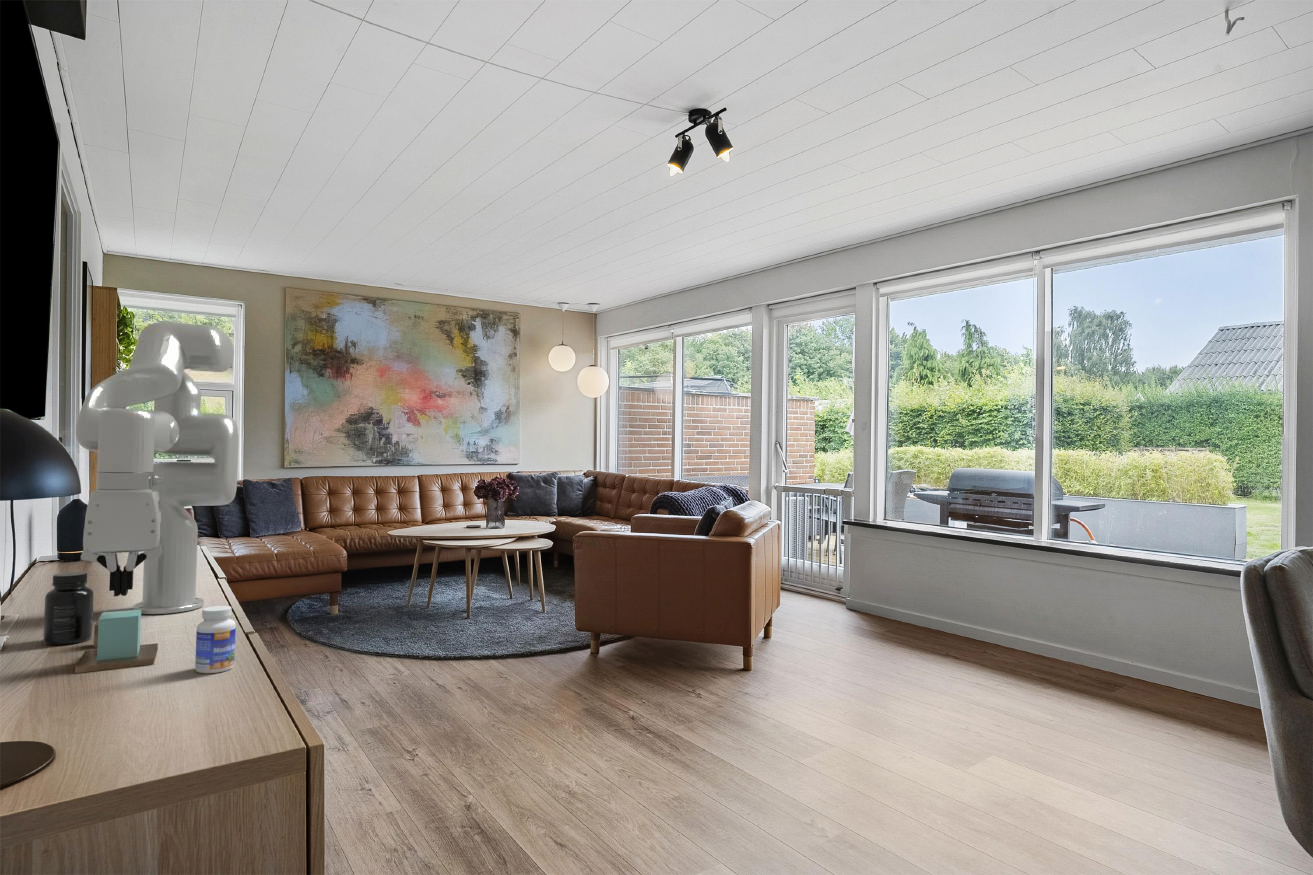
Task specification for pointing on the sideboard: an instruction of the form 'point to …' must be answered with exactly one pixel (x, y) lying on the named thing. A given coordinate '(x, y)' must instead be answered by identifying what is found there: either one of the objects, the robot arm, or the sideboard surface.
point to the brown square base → (116, 660)
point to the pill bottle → (215, 640)
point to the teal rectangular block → (119, 634)
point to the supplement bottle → (68, 610)
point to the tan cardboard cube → (96, 635)
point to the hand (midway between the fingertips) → (120, 594)
